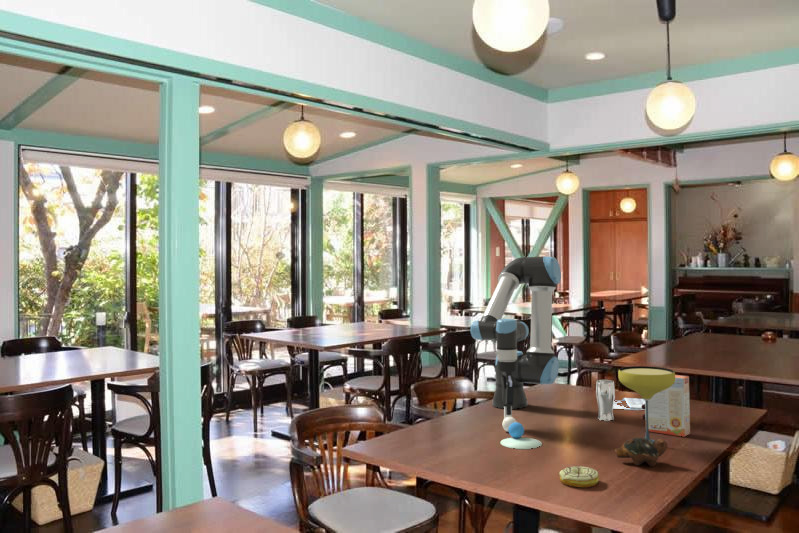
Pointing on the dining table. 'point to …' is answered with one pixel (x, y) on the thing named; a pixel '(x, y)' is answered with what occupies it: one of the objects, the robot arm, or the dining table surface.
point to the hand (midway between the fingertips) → (508, 422)
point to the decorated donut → (579, 476)
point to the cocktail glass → (646, 382)
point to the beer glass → (605, 399)
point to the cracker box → (670, 409)
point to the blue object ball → (516, 430)
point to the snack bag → (630, 404)
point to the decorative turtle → (642, 450)
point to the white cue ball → (508, 423)
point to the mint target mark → (521, 443)
